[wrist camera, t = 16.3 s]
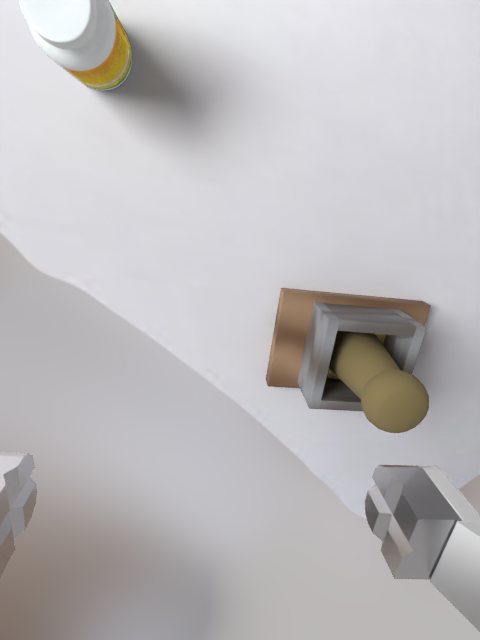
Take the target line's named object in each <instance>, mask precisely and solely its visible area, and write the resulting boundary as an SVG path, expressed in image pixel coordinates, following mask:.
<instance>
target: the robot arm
mask: <svg viewBox="0 0 480 640" xmlns="http://www.w3.org/2000/svg"><path fill="white" fill-rule="evenodd" d="M33 469H34V462H33V456H32V455H30V454H28V453H9V452H0V577H1V575H2V573H3V571H4V570H5V568H6V566H7V564H8V562H9V560H10V558H11V556H12V554H13V553H14V551H15V546H14V538H15V537H16V536H18V535H19V534H20V533H21V532H23V531H24V530H25V529H26V527H27V525H28V523H29V521H30V519H31V517H32V514H33V510H34V507H35V504H36V495H37V488H36V483H35V482H34V481H33V480H32V479H31V478H30V477H29V476H30V475H31V473H32V471H33ZM372 478H373V479H374V481H375V483H376V484H375V485H374V486H373V487H372V488H371V489H370V490H368V492H367V496H366V500H365V513H366V517H367V521H368V524H369V526H370V528H371V530H372V532H373V533H374V534H375V535H376V536H377V537H378V538H380V539H381V540H382V541H383V542H382V547H381V551H382V554H383V556H384V558H385V560H386V562H387V564H388V566H389V568H390V570H391V572H392V575H393V577H394V579H430V582H431V583H432V584H433V585H434V586H435V587H436V588H437V589H438V590H439V591H440V592H441V593H442V594H443V595H444V596H445V597H446V598H447V599H448V600H449V601H450V602H451V603H452V604H453V605H454V606H455V607H456V608H457V609H458V610H459V611H460V612H461V613H462V614H463V615H464V616H465V617H466V618H467V619H468V620H469V621H470V622H471V623H472V624H473V625H474V626H475V627H476V628H477V629H478V630H479V631H480V515H479V514H478V513H477V511H476V510H475V509H474V508H473V507H472V505H471V504H470V503H469V502H468V501H467V499H466V498H465V497H464V496H463V494H462V493H461V492H460V491H459V490H458V488H457V487H456V486H455V485H454V483H453V482H452V481H451V480H450V479H449V477H448V476H447V475H446V474H445V473H444V471H443V470H442V469H440V468H439V467H437V466H401V465H379V466H378V467H377V468H376V469H375V471H374V474H373V477H372Z"/></svg>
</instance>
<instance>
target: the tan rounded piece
mask: <svg viewBox="0 0 480 640" xmlns="http://www.w3.org/2000/svg"><path fill="white" fill-rule="evenodd" d="M329 369H330V370H331V371H332V372H333V373H334V374H335V375H336V376H337V377H338V378H339V379H340V380H341V381H343V382H344V383H345V384H346V385H347V386H348V387H349V388H350V389H351V390H352V391H353V392H354V393H355V394H356V395H357V396H358V397H359V398H360V399H361V405H362V409H363V411H364V413H365V415H366V417H367V419H368V420H369V421H370V422H371V423H372V424H373V425H375V426H376V427H377V428H378V429H381V430H383V431H386V432H390V433H400V432H405V431H408V430H410V429H412V428H414V427H415V426H417V425H418V424H419V423H420V422H421V421H422V420H423V419H424V417H425V416H426V414H427V411H428V408H429V396H428V394H427V391H426V389H425V387H424V385H423V384H422V383H421V382H420V381H419V380H418V379H417V378H416V377H414V376H413V375H411V374H409V373H407V372H404V371H402V370H400V369H399V367H398V366H397V364H396V363H395V361H394V360H393V359H392V357H391V356H390V354H389V353H388V351H387V350H386V348H385V347H384V346H383V344H382V343H381V341H380V340H379V338H378V337H377V335H376V334H374V333H361V332H349V331H337V334H336V338H335V343H334V347H333V351H332V356H331V360H330V364H329Z"/></svg>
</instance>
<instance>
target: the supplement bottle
mask: <svg viewBox="0 0 480 640" xmlns="http://www.w3.org/2000/svg"><path fill="white" fill-rule="evenodd" d="M19 4H20V7H21V10H22V12H23V15H24V17H25V18H26V20H27V22H28V24H29V27H30V30H31V33H32V35H33V37H34V39H35V41H36V42H37V44H38V45H39V47H40V48H41V49H42V51H43V52H44V53H45V54H46V55H47V56H48V57H49V58H50V59H52V60H53V61H54V62H55V63H57V64H58V65H59V66H61V67H62V68H63V69H65V70H66V71H67V72H68V73H70V74H71V75H72V76H73V77H75V78H76V79H77V80H79V81H80V82H81V83H82V84H84V85H86V86H87V87H90V88H92V89H95V90H111V89H114V88H116V87H118V86H119V85H121V84H122V83H123V82H124V81H125V80H126V78H127V77H128V75H129V73H130V70H131V66H132V51H131V45H130V42H129V39H128V37H127V34H126V32H125V30H124V29H123V27H122V25H121V23H120V21H119V19H118V17H117V15H116V14H115V12H114V10H113V8H112V6H111V4H110V2H109V0H19Z"/></svg>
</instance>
